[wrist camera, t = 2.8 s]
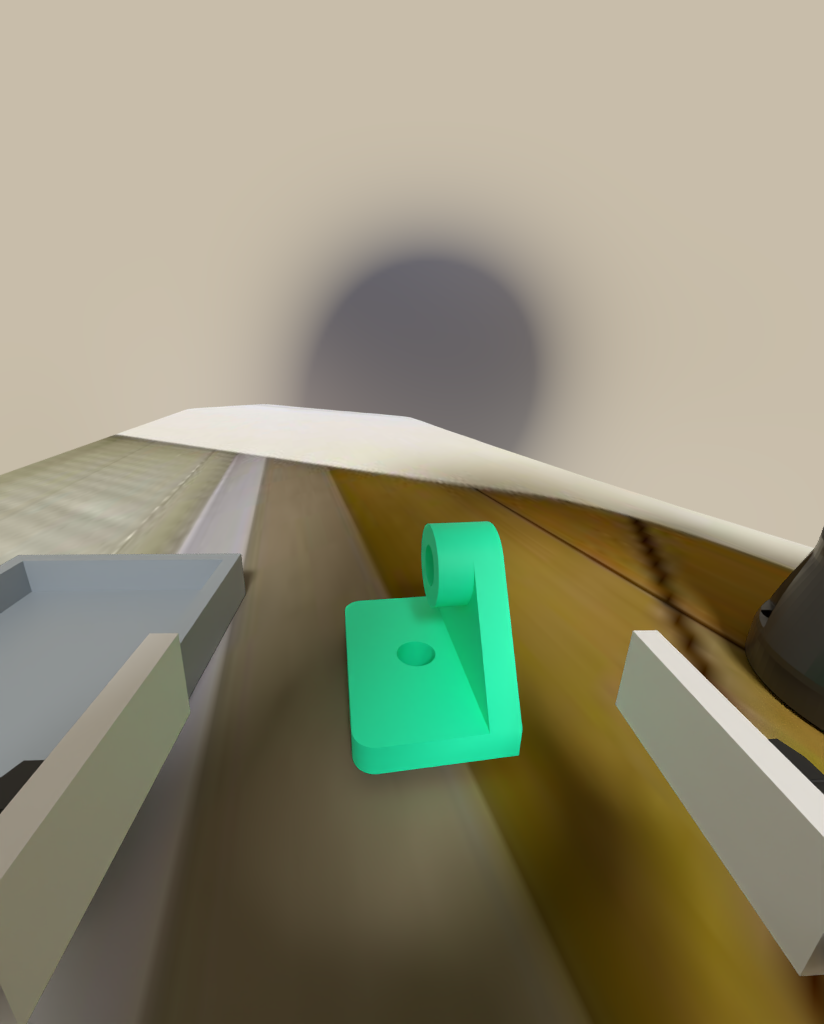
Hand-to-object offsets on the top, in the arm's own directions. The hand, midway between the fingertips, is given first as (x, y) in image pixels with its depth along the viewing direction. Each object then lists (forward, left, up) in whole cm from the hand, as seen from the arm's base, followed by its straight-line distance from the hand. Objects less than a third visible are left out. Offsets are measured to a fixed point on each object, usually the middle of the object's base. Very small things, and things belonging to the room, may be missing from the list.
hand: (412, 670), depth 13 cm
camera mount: (-1, -10, -10) cm, 14 cm away
